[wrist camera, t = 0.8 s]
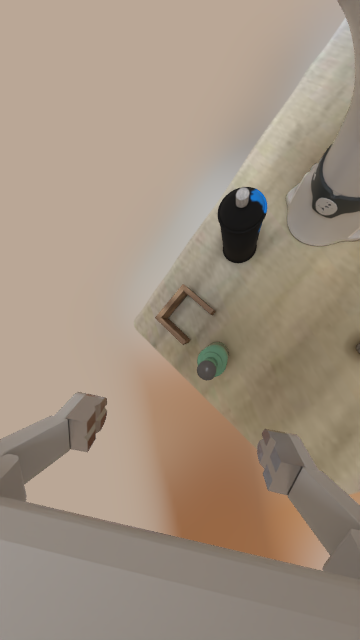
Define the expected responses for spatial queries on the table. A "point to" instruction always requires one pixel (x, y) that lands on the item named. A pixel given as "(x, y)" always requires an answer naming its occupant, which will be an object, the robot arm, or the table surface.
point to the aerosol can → (241, 222)
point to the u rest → (172, 305)
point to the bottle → (212, 361)
